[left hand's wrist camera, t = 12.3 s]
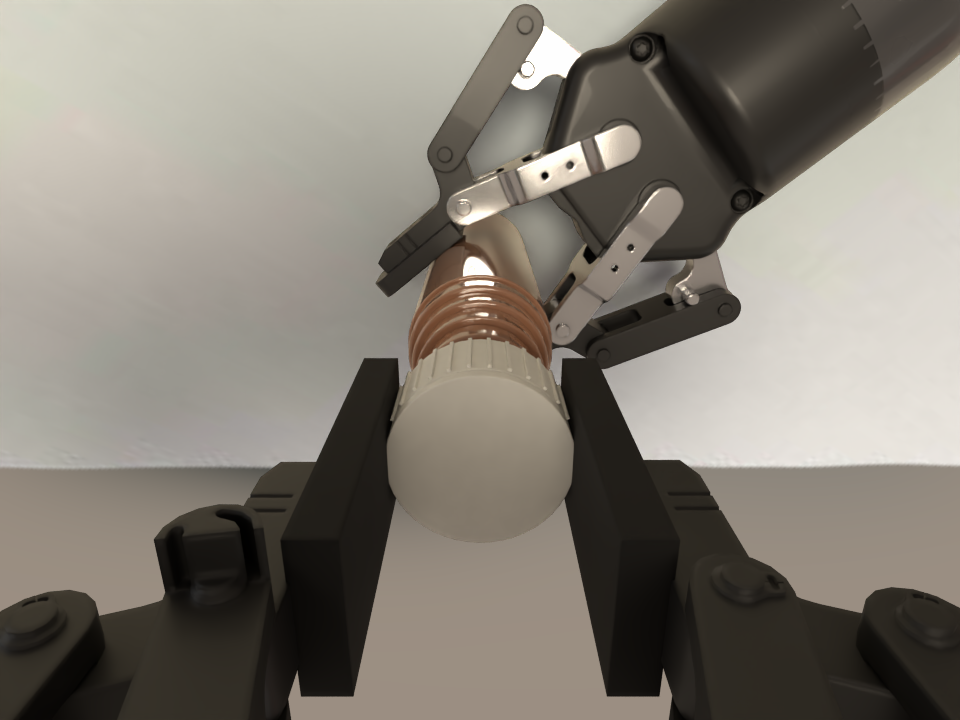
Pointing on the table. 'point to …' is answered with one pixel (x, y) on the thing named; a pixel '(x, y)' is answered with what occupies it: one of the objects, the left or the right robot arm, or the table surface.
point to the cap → (480, 442)
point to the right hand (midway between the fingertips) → (427, 331)
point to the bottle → (481, 295)
